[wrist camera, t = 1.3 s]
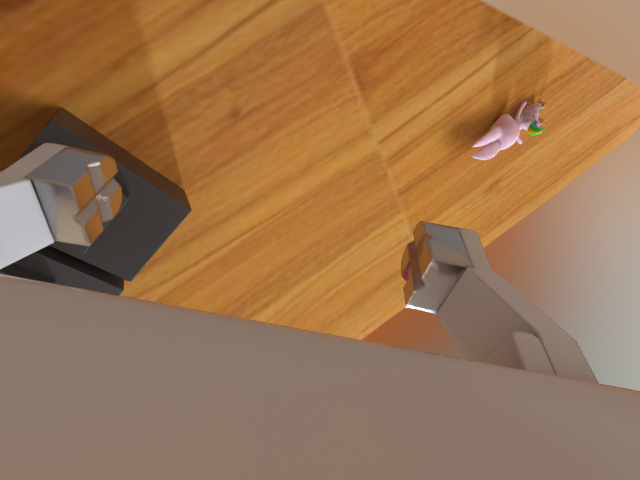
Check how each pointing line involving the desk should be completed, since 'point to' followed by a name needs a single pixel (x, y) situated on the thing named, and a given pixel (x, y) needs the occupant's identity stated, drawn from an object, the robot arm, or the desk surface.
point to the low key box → (64, 271)
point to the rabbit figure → (510, 130)
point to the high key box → (137, 202)
